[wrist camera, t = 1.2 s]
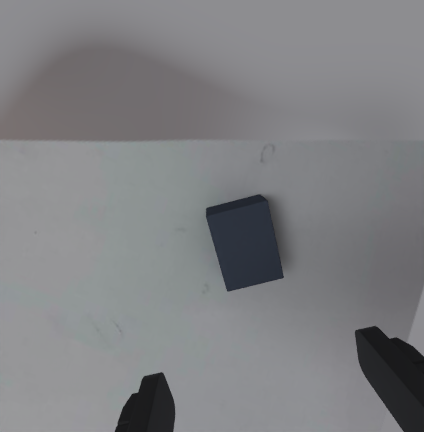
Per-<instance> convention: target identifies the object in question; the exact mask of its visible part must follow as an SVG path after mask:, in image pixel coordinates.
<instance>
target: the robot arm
mask: <svg viewBox="0 0 424 432" xmlns="http://www.w3.org/2000/svg"><path fill="white" fill-rule="evenodd" d="M355 337H356V345H357V352H358V360H359V364H360V367H361V369H362V371H363V373H364V375H365V377H366V378H367V380H368V381H369V383H370V384H371V386H372V387H373V388H374V390H375V391H376V393H377V394H378V396H379V397H380V398H381V400H382V401H383V403H384V404H385V406H386V407H387V408H388V410H389V411H390V413H391V414H392V416H393V417H394V418H395V420H396V421H397V423H398V424H399V426H400V427H401V428H402V430H403V431H404V432H424V356H423V355H421V354H420V353H419V352H418V351H417V350H416V349H415V348H414V347H413V346H411V345H409V344H408V343H406V342H404V341H402V340H400V339H399V338H397V337H396V338H391V339H389V338H388V337H387V336H386V335H385V334H384V333H383V332H382V331H381V330H380V329H379V328H378V327H376V326H373V327H368V328H364V329H359V330H356V331H355ZM174 421H175V404H174V399H173V397H172V394H171V391H170V389H169V386H168V384H167V381H166V378H165V376H164V374H163V373H162V372H161V373H156V374H152V375H147V376H144V377H143V379H142V382H141V385H140V389H139V392H138V393H134V394H132V395H131V396H130V398H129V399H128V401H127V402H126V404H125V405H124V407H123V409H122V412H121V415H120V418H119V421H118V426H117V427H116V430H115V432H173V429H174Z"/></svg>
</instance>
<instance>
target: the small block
mask: <svg viewBox="0 0 424 432" xmlns="http://www.w3.org/2000/svg"><path fill="white" fill-rule="evenodd" d="M206 218H207V222H208V225H209V229H210V232H211V236H212V239H213V243H214V246H215V250H216V253H217V257H218V261H219V264H220V268H221V271H222V275H223V278H224V282H225V285H226V289H227V291H232V290H236V289H240V288H244V287H249V286H253V285H257V284H261V283H265V282H269V281H273V280H277V279H281V278H284V276H283V271H282V267H281V262H280V257H279V253H278V248H277V243H276V239H275V234H274V229H273V224H272V220H271V215H270V210H269V206H268V201H267V200H266V199H265V198H264V197H262V196H261V195H260V194H259V195H255V196H251V197H247V198H243V199H240V200H236V201H232V202H228V203H224V204H221V205H217V206H213V207H209V208H207V209H206Z"/></svg>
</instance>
